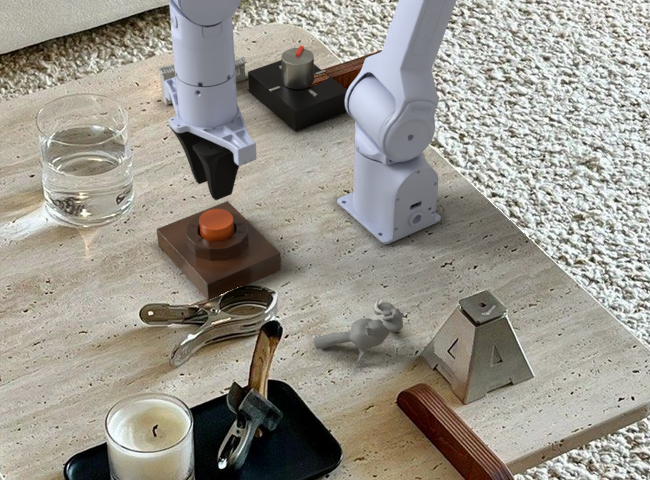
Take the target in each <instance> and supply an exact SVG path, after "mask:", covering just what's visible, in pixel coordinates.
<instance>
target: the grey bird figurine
mask: <svg viewBox="0 0 650 480" xmlns="http://www.w3.org/2000/svg"><path fill="white" fill-rule="evenodd" d="M379 300H380V299H379V298H378V299H377V301H376V302H375V303H374V306H373V311H374V314H375V315H376V316H381V315H383V317H382V319H372V318H369V317H368V318H367V317H365V318H364V317H363V318H361V319H357V320H355V321H353V322H352V323H351V326H350V329H349V331H339V332H331V333H328V334H323V335H321V334H316V335H312V340H313V344H314V347H315V349H316V350H323V349H327V348H330V347H333V346H336V345H338V344H347V343H353V344H354V345H355V346H356V347H357V349H358V352H359V354H358V358H357V362H356V364H355V366H357V365H358V364H359V362H360V361H361V360H362V358H363V357H364V355H365V354H366V353H367V352H368V351H369V350H371V349H372V348H374V347H378V346H380V345H381V344H383V343H384V341H385V340H386V339H387V338H388V337H389V335H390V334H391V333H393V332H399V331H401V330H402V329H403V328H404V321H403V318H405V315H404V314H405V313H403V312H401V311H400V309H399V307H395V306H394V305H393V304H392V303H391V302H388V301H383V299H381V300H380V301H379Z"/></svg>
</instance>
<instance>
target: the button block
mask: <svg viewBox="0 0 650 480" xmlns="http://www.w3.org/2000/svg"><path fill="white" fill-rule="evenodd" d="M212 209H223V210H226V211H228V212H230V213H231V214H232V216H233V220H234V234H233V236H232V237H231V238H230V239H227V240H225V241H218V242H211V241H208V240H205V239H204V238H203V237H202V236H201V234H200V224H199V219H200V216H201V215H202V214H203V213H204V212H206V211H208V210H212ZM156 237H157V245H158V247H159V249H161V251H162V252H163V253H164V254H165V255H166V256H167V257H168V258H169V259H170V260H171V262H172V263H174V265H175V266H176V267H177V268H178V269H179V270H180V272H181V273H182V274H183V275H184V276H185V277H186V279H188V281H190V282H191V284H192V285H193V286H194V287H195V288H196V289H197V291H199V292H200V293H201V294H202V296H203V297H204V298H205V299H206V300H207V301H208V300H210V299H212V298H215V297H217V296H219V295H221V294H223V293H225V292H227V291H230V290H232V289H235V288H237V287H240V286H244V287H246V286H248V285H250V284H253V283H255V282H258V281H260V280H262V279H265V278H267V277H269V276H272V275H274V274H276V273H278V272H281V271H282V253H281V252H280V251H279V250H278V249H277V248H276V247H275V245H273V244H272V243H271V241H269V240H268V239H267V238H266V237H265V236H264V235H263V234H262V233H261V232H260V231H259V230H258V228H256V227H255V226H254V225H253V224H252V223H251V222H250V221H249V220H248V219H247V218H246V217H245V216H244V215H243V214H242V213H241V212H240V211H238V209H237V208H236V207H235V206H233V205H232V204H231V203H230V201H228V200H227V201H223V202H221V203H219V204H216V205H214V206H211V207H209V208H206V209H204V210H201V211H199V212H196V213H194V214H191V215H188V216H186V217H183V218H181V219H177V220H175V221H173V222H171V223H168V224H165V225H163V226H160V227H158V228H156Z"/></svg>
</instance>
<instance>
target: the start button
mask: <svg viewBox="0 0 650 480" xmlns="http://www.w3.org/2000/svg"><path fill="white" fill-rule="evenodd" d="M199 224H200V234H201V236H202V237H203V238H204V239H205V240H208V241H211V242H218V241H225V240H227V239H230V238H231V237H232V236H233V234H234V220H233V216H232V214H231V213H230V212H228V211H226V210H223V209H212V210H208V211H206V212H204V213H203V214H202V215H201V216H200V219H199Z"/></svg>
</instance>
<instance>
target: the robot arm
mask: <svg viewBox="0 0 650 480" xmlns="http://www.w3.org/2000/svg"><path fill="white" fill-rule="evenodd" d="M457 1H458V0H397V4H396V7H395V11H394V13H393V16H392V19H391V22H390V25H389V28H388V31H387V34H386V37H385V41H384V43H383V47H382V49H381V51H380V52H378V53H374V54H372V55H370V56H367V57H366V58H365V59H364V61H363V64H362V67H361V69H360V71H359V73H358V74H357V76H356V77H355V78H354V80H353V81H352V82H351V83H350V85H349V86H348V88H347V89H346V90H347V92H346V96H345V108H346V110H347V113H346V114H348V116H349V117H350V118H351V119H352V120H354V131H355V133H354V153H353V154H354V155H353V185H352V186H353V190H352V192H350V193H348V194H346V195H345V194H344V195H343V196H340V197H338V198H337V200H336V201H337V204H338V205H339V206H340V207H341V208H342V209H343V210H344V211H345V212H347V214H349V215H350V216H351V217H352V218H353V219H354V220H356V221H357V222H358V223H359V224H360V225H361V226H362V227H364V228H365V230H367V231H368V232H369V233H370V234H371V235H373V237H375V238H376V239H377V240H378V241H379V243H381V244H383V245H389V244H391V243H394V242H396V241H398V240H401V239H403V238H405V237H408V236H411V235H412V234H415V233H417V232H419V231H421V230H423V229H426V228H427V227H430V226H432V225H435V224H437V223H439V222H441V220H442V216H441V215H440V214H439V213H437V201H438V190H439V175H438V174H437V171H436V170H435V169H434V168H433V167H432V166H431V165H430V163H429V162H428V160H427V159H426V157H425V154H424V151H425V150H427V148H428V147H429V145H430V144H431V142H432V141H433V138H434V135H435V133H436V119H435V117H436V115H435V114H436V111H437V108H438V105H439V94H438V91H437V87H436V83H435V79H434V76H433V67H434V65H435V62H436V58H437V56H438V53H439V50H440V48H441V45H442V42H443V39H444V38H445V37H444V36H445V34H446V31H447V28H448V25H449V23H450V20H451V18H452V14H453V11H454V9H455V7H456V3H457ZM241 2H242V0H169V2H168V4H169V5H168V6H169V16H170V33H171V34H170V35H171V43H172V56H173V62H174V66H175V77H174V78H171V79H168V80H165V81H164V88H165V97H166V98H167V99H168V100H169V101H172V105H173V106H172V107H173V109H174V113H175V115H174V116H172V117H170V118H169V119H168V127H169V129H170V130H171V131H172V132H173V134H174V135H175V137H176V138H177V140H178V142H179V143H180V146H181V147H182V149H183V151H184V154H185V156H186V159H187V162H188V164H189V168H190V170H191V173H192V176H193V178H194V180H195V182H196V183H197V184H198V185H201V184H204V183H207V186H208V191H209V193H210V196H211V198H212V199H213V200H214V201H218V200H221V199H224V198H226V197H229V196H231V195H233V190H234V186H235V183H236V179H237V175H238V171H239V169H240V167H241V166H243V165H247V164H249V163H252V162H254V161H257V143H256V141H254V139H252V137H251V136H250V134H249V131H248V128H247V125H246V122H245V120H244V117H243V114H242V112H241V109H240V106H239V104H238V94H237V82H236V72H235V59H236V55H235V56H234V53H235V42H234V26H233V15H234V14H235V13H236V11H237V10H238V8H239V6H240V4H241Z"/></svg>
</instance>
